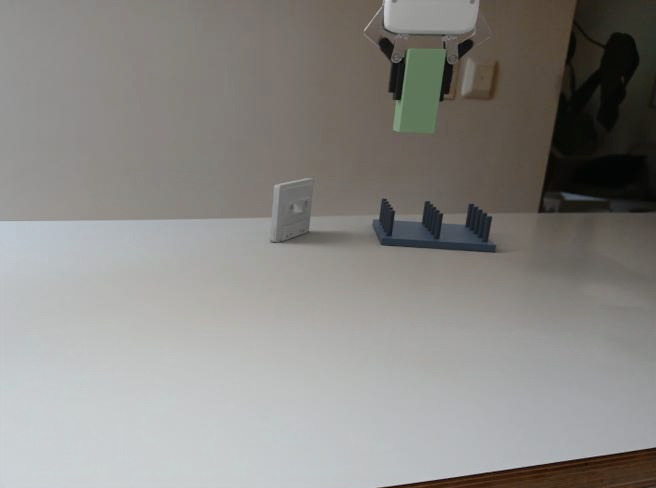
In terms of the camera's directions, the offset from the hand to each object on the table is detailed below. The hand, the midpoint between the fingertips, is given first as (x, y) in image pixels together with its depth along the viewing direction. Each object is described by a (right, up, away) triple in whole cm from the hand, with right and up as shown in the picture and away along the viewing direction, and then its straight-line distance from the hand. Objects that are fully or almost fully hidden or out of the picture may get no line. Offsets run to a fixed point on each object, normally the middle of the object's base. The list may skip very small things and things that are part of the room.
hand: (417, 98), depth 87 cm
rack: (+9, -13, +22) cm, 26 cm away
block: (0, -3, +1) cm, 4 cm away
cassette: (-12, -13, +19) cm, 26 cm away
